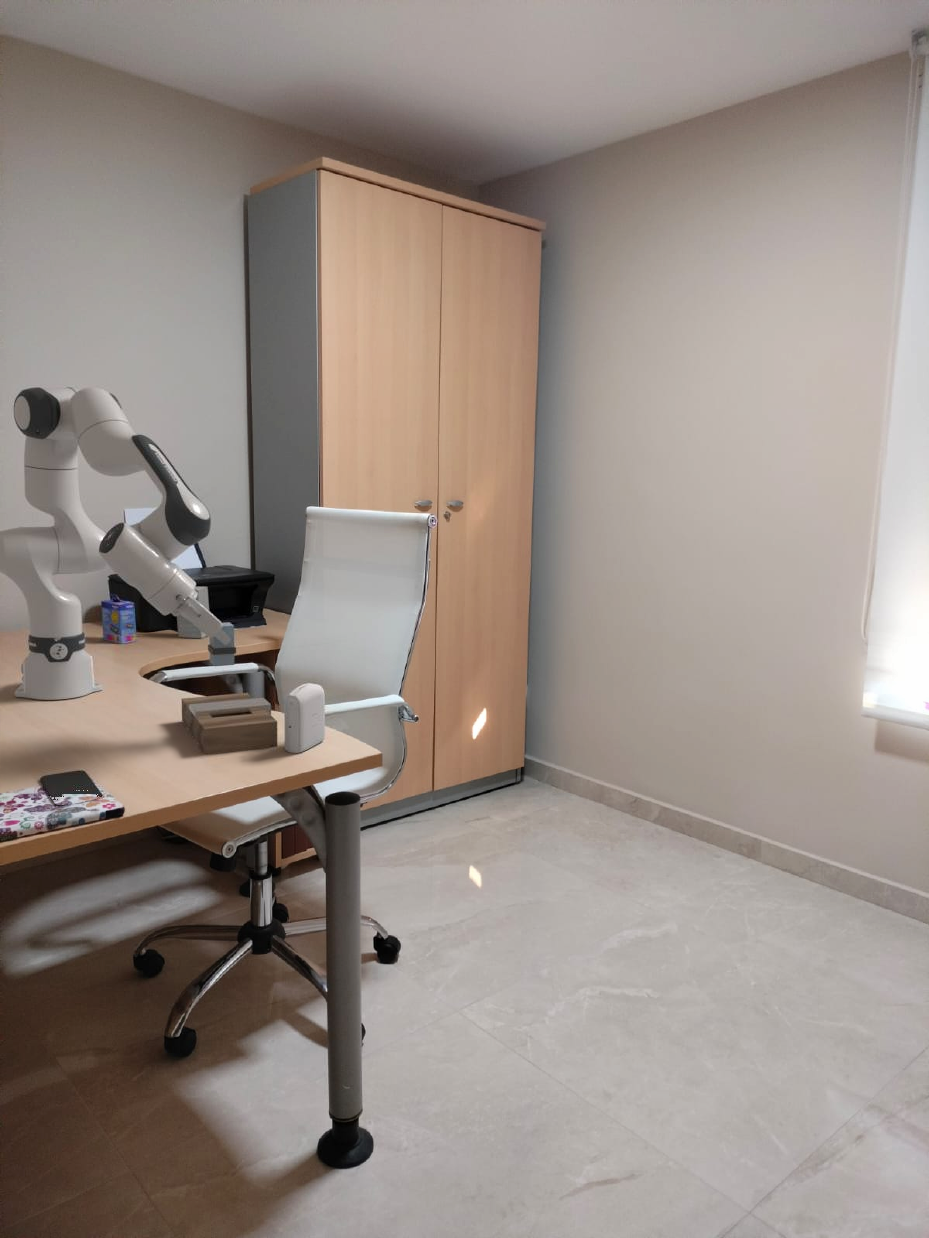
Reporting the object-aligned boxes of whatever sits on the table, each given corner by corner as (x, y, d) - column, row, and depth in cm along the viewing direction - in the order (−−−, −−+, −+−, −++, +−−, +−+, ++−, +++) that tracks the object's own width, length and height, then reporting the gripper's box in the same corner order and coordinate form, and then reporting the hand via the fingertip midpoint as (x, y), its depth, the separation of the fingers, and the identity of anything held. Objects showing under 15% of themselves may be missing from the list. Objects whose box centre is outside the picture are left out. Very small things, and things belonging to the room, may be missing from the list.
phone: (55, 805, 143) (38, 776, 155) (55, 810, 143) (38, 780, 155) (104, 796, 147) (84, 769, 160) (104, 801, 148) (84, 773, 160)
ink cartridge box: (101, 640, 275) (99, 593, 273) (117, 637, 279) (116, 591, 277) (120, 644, 269) (119, 596, 267) (137, 641, 274) (135, 594, 271)
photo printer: (300, 755, 172) (300, 692, 170) (281, 751, 174) (281, 689, 172) (327, 740, 182) (328, 680, 180) (309, 737, 183) (309, 678, 181)
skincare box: (211, 635, 287) (210, 586, 284) (199, 639, 280) (198, 589, 277) (187, 633, 289) (186, 584, 286) (175, 637, 282) (174, 587, 279)
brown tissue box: (182, 721, 192) (181, 698, 191) (247, 714, 198) (247, 692, 198) (204, 754, 171) (204, 728, 170) (277, 745, 177) (277, 721, 177)
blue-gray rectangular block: (208, 662, 183) (207, 623, 181) (231, 660, 185) (230, 622, 183) (212, 666, 179) (212, 627, 177) (236, 665, 181) (235, 625, 179)
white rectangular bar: (189, 723, 184) (189, 704, 183) (263, 716, 191) (263, 697, 190) (195, 731, 179) (194, 711, 178) (271, 723, 185) (271, 704, 185)
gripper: (194, 588, 167) (248, 637, 173) (176, 575, 185) (225, 620, 191) (170, 613, 165) (225, 661, 171) (154, 597, 183) (204, 642, 189)
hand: (225, 639), depth 181 cm, fingers closed on blue-gray rectangular block, 4 cm apart
